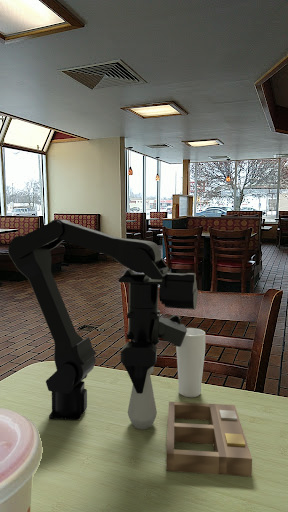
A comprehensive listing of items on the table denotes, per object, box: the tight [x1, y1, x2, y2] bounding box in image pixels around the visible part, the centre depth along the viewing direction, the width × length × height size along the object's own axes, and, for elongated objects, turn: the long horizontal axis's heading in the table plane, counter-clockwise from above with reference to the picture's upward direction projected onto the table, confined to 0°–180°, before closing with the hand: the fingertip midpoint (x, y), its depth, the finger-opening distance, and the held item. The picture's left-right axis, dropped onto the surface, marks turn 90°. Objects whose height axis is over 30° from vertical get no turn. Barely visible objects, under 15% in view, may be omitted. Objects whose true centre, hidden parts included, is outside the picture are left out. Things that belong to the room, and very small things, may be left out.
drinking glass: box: [175, 327, 206, 398], centre depth 89 cm, size 7×7×15 cm
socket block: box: [165, 401, 253, 478], centre depth 69 cm, size 14×18×3 cm
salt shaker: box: [127, 365, 158, 430], centre depth 75 cm, size 6×6×13 cm
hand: (142, 382), depth 75 cm, fingers open, 9 cm apart
